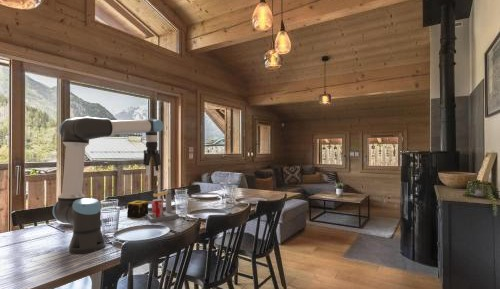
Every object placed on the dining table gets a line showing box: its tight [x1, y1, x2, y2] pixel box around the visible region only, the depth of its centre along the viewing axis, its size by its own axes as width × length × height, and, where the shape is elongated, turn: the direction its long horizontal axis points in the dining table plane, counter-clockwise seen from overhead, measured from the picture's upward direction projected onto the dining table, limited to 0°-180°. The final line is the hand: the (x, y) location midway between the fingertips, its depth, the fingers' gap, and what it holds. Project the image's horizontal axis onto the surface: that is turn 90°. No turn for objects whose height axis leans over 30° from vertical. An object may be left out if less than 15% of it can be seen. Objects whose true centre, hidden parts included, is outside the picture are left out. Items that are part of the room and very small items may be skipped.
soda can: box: [151, 198, 164, 218], centre depth 184 cm, size 7×7×13 cm
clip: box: [152, 189, 172, 198], centre depth 189 cm, size 15×4×3 cm, turn 154°
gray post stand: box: [144, 193, 179, 223], centre depth 187 cm, size 18×14×15 cm
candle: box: [126, 200, 149, 219], centre depth 192 cm, size 10×10×10 cm
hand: (152, 175), depth 187 cm, fingers open, 7 cm apart
